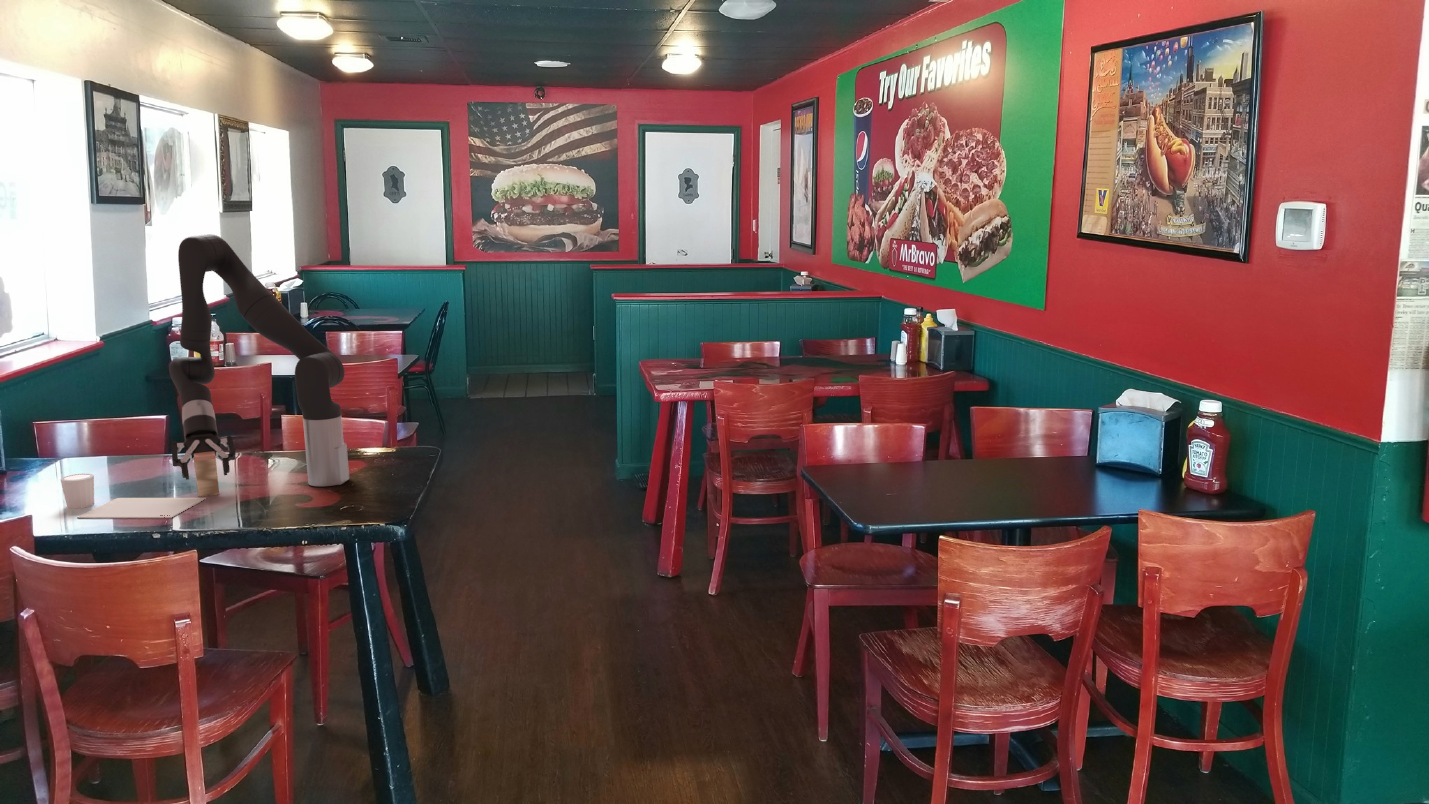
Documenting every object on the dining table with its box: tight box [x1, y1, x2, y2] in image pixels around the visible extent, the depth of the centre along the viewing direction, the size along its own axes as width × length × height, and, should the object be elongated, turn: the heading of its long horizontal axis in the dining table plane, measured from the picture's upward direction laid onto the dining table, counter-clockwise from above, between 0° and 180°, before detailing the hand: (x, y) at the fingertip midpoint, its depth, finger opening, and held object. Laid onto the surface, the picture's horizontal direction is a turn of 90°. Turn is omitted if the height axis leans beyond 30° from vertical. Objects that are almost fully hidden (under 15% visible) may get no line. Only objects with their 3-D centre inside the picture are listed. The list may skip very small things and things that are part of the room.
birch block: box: [193, 451, 220, 498], centre depth 262 cm, size 5×5×10 cm
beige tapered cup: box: [59, 473, 95, 509], centre depth 253 cm, size 7×7×7 cm
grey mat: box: [76, 497, 207, 520], centre depth 250 cm, size 22×16×1 cm
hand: (206, 475), depth 261 cm, fingers open, 8 cm apart
